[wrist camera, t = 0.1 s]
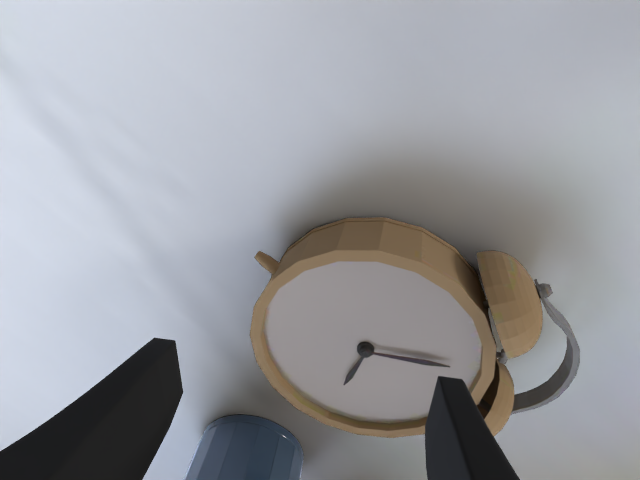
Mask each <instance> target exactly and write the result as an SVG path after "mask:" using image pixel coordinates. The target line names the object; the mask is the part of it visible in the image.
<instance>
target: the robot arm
mask: <svg viewBox="0 0 640 480" xmlns="http://www.w3.org/2000/svg"><path fill="white" fill-rule="evenodd" d="M182 394H183V388H182V382H181V375H180V369H179V362H178V356H177V349H176V342H175V340H167V339H160V338H153V339H152V340H151V341H150V342H148V343H147V344H146V345H145V346H143V347H142V348H141V349H140V350H138V351H137V352H136V353H135V354H134V355H132V356H131V357H130V358H129V359H127V360H126V361H125V362H124V363H123V364H121V365H120V366H119V367H118V368H116V369H115V370H114V371H113V372H111V373H110V374H109V375H108V376H106V377H105V378H104V379H103V380H101V381H100V382H99V383H98V384H96V385H95V386H94V387H92V388H91V389H90V390H89V391H87V392H86V393H85V394H84V395H82V396H81V397H80V398H78V399H77V400H76V401H74V402H73V403H71V404H70V405H69V406H67V407H66V408H65V409H63V410H62V411H60V412H59V413H58V414H56V415H55V416H54V417H52V418H51V419H49V420H48V421H47V422H45V423H44V424H42V425H41V426H39V427H38V428H36V429H35V430H33V431H32V432H30V433H29V434H27V435H26V436H24V437H23V438H21V439H19V440H18V441H16V442H15V443H13V444H11V445H10V446H8V447H7V448H5V449H3V450H2V451H0V480H142V479H143V477H144V475H145V473H146V472H147V470H148V468H149V466H150V464H151V462H152V460H153V458H154V456H155V455H156V453H157V451H158V449H159V447H160V445H161V443H162V441H163V439H164V437H165V435H166V433H167V431H168V429H169V427H170V425H171V422H172V420H173V417H174V415H175V412H176V410H177V407H178V404H179V402H180V399H181V396H182ZM425 450H426V469H427V477H428V480H520V479H519V477H518V476H517V474H516V473H515V471H514V470H513V468H512V466H511V465H510V463H509V462H508V460H507V458H506V457H505V455H504V453H503V452H502V450H501V448H500V447H499V445H498V443H497V442H496V440H495V438H494V436H493V435H492V433H491V431H490V429H489V428H488V426H487V424H486V422H485V420H484V419H483V417H482V415H481V413H480V411H479V409H478V407H477V406H476V404H475V402H474V400H473V398H472V396H471V394H470V392H469V390H468V388H467V386H466V384H465V382H464V381H463V380H462V379H458V378H451V377H444V376H438V378H437V382H436V386H435V390H434V394H433V398H432V402H431V405H430V409H429V413H428V417H427V421H426V425H425Z"/></svg>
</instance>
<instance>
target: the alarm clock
mask: <svg viewBox="0 0 640 480" xmlns="http://www.w3.org/2000/svg"><path fill="white" fill-rule="evenodd" d="M476 255H477V261H478V266H479V270H480V274H481V278H482V282H483V286H484V289H485V293H486V296H487V300H486V297H485V294H484V291H483V289H482V286H481V283H480V280H479V277H478V274H477V273H476V272H475V271H474V269H473V268H472V267H471V266H470V265H469V264H468V262H467V261H466V260H465V259H464V258H463V256H462V255H461V254H460V253H459V252H458V250H457V249H456V248H455V247H453V246H452V245H450V244H449V243H447V242H445V241H444V240H442V239H440V238H439V237H437V236H435V235H434V234H432V233H431V232H429V231H427V230H426V229H424V228H422V227H419V226H415V225H411V224H408V223H404V222H400V221H396V220H393V219H389V218H385V217H376V218H345V219H342V220H339V221H336V222H333V223H330V224H327V225H324V226H320V227H317V228H314V229H312V230H311V231H310V232H308V233H307V234H306V235H304V236H303V237H302V238H300V239H299V240H298V241H296V242H295V243H294V244H292V245H291V246H290V247H288V249H287V250H286V252H285V254H284V255H283V257H282V259H281V260H280V262H279V263H278V262H277V261H276V260H275V259H273V258H272V257H271V256H269V255H267V254H265V253H263V252H261V251H259V252H258V253H257V254H256V256H255V257H254V258H255V259H256V260H257V261H258V262H259V263H260V264H261V265H262V266H263V267H264V268H265V269H266V270H268V271H269V272H270V273H272V276H271V279H270V281H269V283H268V285H267V286H266V288H265V289H264V291H263V293H262V294H261V296H260V297H259V299H258V301H257V302H256V304H255V306H254V309H253V316H252V323H251V330H250V338H251V342H252V346H253V350H254V354H255V358H256V362H257V363H258V365H259V367H260V369H261V370H262V371H263V373H264V374H265V376H266V378H267V379H268V381H269V382H270V384H271V385H272V387H273V388H274V389H275V390H276V391H277V392H279V393H280V394H281V395H282V396H283V397H284V398H285V399H286V400H287V401H288V402H290V403H291V404H292V405H293V406H294V407H295V408H296V409H298V410H300V411H302V412H303V413H305V414H307V415H309V416H311V417H312V418H314V419H316V420H318V421H320V422H321V423H323V424H325V425H328V426H331V427H335V428H338V429H341V430H344V431H347V432H351V433H354V434H357V435H367V436H377V437H386V438H395V437H404V436H412V435H421V434H425V425H426V421H427V417H428V413H429V409H430V405H431V402H432V398H433V394H434V390H435V386H436V382H437V378H438V376H444V377H451V378H458V379H462V380H463V381H464V382H465V384H466V386H467V388H468V390H469V392H470V394H471V396H472V398H473V400H474V402H475V404H476V406H477V407H478V409H479V411H480V413H481V415H482V417H483V419H484V420H485V422H486V424H487V426H488V428H489V429H490V431H491V433H492V435H493V436H495V435H496V434H497V433H498V432H499V431H500V430H501V429H502V428H503V427H504V425H505V424H506V422H507V421H508V419H509V416H510V415H512V414H514V413H519V412H523V411H527V410H532V409H535V408H538V407H541V406H543V405H546V404H548V403H549V402H551V401H553V400H554V399H556V398H558V397H559V396H560V395H561V394H562V393H563V392H564V391H565V390H566V389H567V388H568V387H569V385H570V384H571V382H572V381H573V379H574V378H575V376H576V374H577V370H578V367H579V363H580V349H579V346H578V344H577V341H576V339H575V336H574V334H573V332H572V329H571V327H570V325H569V323H568V322H567V320H566V319H565V318H564V316H563V315H562V314H561V313H560V312H559V311H558V310H557V309H555V308H554V306H553V305H552V304H551V303H550V302H549V301H548V299H547V298H546V297H549V296H550V295H551V294H552V293H553V292H552V289H551V287H550V285H549V284H544V283H543V284H538V282H537V279H535V280H534V281H535V284H536V285H535V284H534V282H533V280H532V278H531V277H530V275H529V274H528V272H527V271H526V269H525V268H524V267H523V266H522V265H521V264H520V263H519V262H518V261H517V260H516V259H515V258H513V257H511V256H510V255H508V254H505V253H503V252H499V251H482V252H477V253H476ZM540 298H541V300H542V302H543V304H544V307H545V309H546V311H547V313H548V314H549V316H550V317H551V319H552V320H553V321H554V322H555V323H556V324H557V325H558V326H559V327H560V328H561V329H562V330H563V331H564V333H565V334H566V335H567V350H566V354H565V358H564V360H563V362H562V364H561V365H560V367H559V369H558V370H557V371H556V372H555V373H554V375H553V376H552V377H551V378H550V379H549V380H548V381H546V382H545V383H543V384H542V385H540V386H538V387H537V388H534V389H532V390H529V391H527V392H524V393H520V394H516V395H514V385H513V380H512V378H511V376H510V373H509V371H508V369H507V368H506V366H505V365H504V364H505V363H506V361H507V358H508V359H510V358H514V357H518V356H520V355H522V354H524V353H526V352H528V351H529V350H530V349H532V348H533V346H534V345H535V344H536V342H537V340H538V339H539V337H540V334H541V329H542V321H543V318H542V306H541V301H540ZM488 308H490V310H491V313H492V316H493V320H494V323H495V326H496V329H497V332H498V335H499V338H500V341H501V343H502V346H503V349H502V350H501V353H500V352H496V342H495V339H494V337H493V334H492V329H491V324H490V319H489V314H488ZM497 358H499V359H497Z"/></svg>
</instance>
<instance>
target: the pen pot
mask: <svg viewBox="0 0 640 480" xmlns="http://www.w3.org/2000/svg"><path fill="white" fill-rule="evenodd" d="M303 460H304V454H303V450H302V447H301V445H300V444H299V442H298V440H297V439H296V438H295V437H294V436H293V435H292V434H291V433H290V432H289V431H288V430H286V429H285V428H283V427H282V426H280V425H278V424H276V423H274V422H272V421H270V420H267V419H264V418H260V417H256V416H251V415H230V416H225V417H222V418H219V419H217V420H215V421H214V422H212V423H211V424H210V425H209V426H208V427H207V428H206V429H205V431H204V433H203V436H202V438H201V440H200V442H199V444H198V446H197V448H196V451H195V453H194V456H193V458H192V460H191V463H190V465H189V467H188V470H187V472H186V475H185V477H184V479H183V480H301V475H302V466H303Z"/></svg>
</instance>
